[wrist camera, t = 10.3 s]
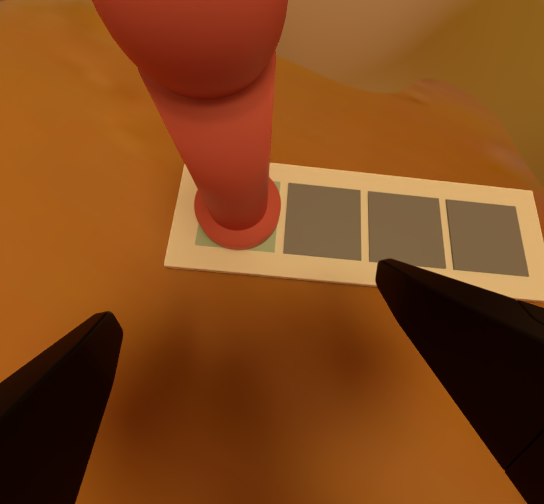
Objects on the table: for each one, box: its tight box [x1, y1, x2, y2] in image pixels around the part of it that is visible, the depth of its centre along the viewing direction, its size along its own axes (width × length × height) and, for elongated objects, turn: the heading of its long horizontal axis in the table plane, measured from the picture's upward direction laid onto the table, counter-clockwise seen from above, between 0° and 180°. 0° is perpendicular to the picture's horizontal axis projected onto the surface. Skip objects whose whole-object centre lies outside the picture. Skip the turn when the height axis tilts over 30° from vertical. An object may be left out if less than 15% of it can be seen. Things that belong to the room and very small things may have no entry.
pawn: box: [92, 0, 288, 250], centre depth 10 cm, size 6×6×14 cm
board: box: [164, 163, 544, 303], centre depth 18 cm, size 27×9×1 cm, turn 85°
